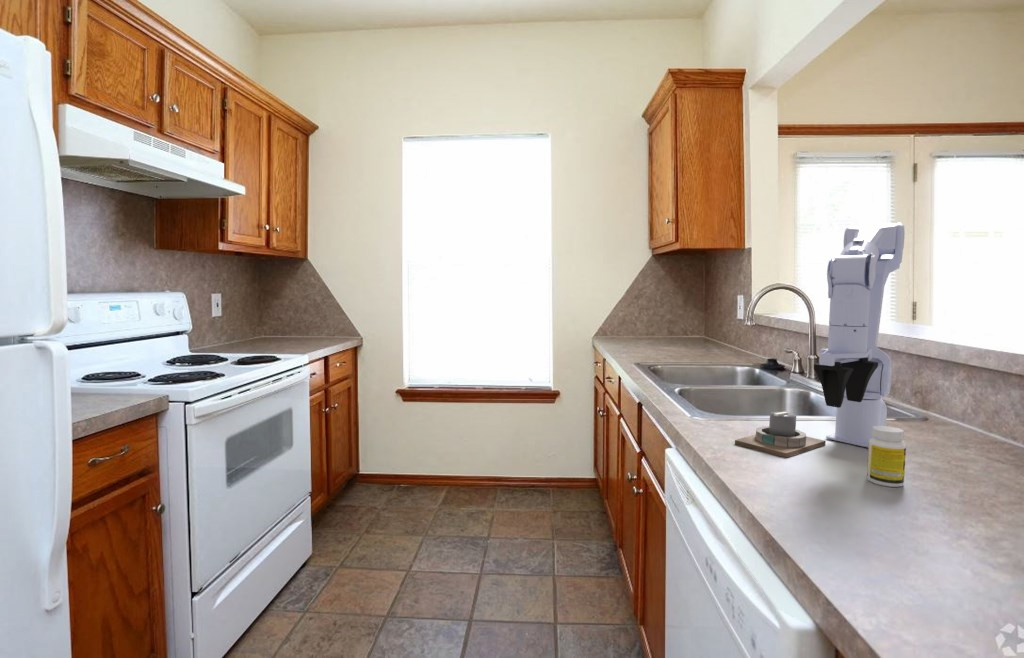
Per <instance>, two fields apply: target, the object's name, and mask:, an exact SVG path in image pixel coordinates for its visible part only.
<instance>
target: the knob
mask: <svg viewBox="0 0 1024 658" xmlns="http://www.w3.org/2000/svg"><path fill="white" fill-rule="evenodd" d="M796 427H797V415H795V414H794V413H790V412H788V411H771V412H770V413H769V434H770V435H774V436H782V437H795V430H797V429H796Z"/></svg>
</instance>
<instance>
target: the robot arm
mask: <svg viewBox="0 0 1024 658" xmlns="http://www.w3.org/2000/svg"><path fill="white" fill-rule="evenodd" d="M904 247H905V225H904V224H903V223H902V222H897V223H886V224H885V223H882V224H869V225H855V226H853V225H848V226H847V227H846V229H845V230H844V235H843V250H842V251H841V253H840V254H839V255H835V256H834V258H833V259H832V258H830V259H829V260H828V264H827V270H826V281H827V288H828V291H827V293H828V294H827V295H828V296H827V297H828V299H829V316H828V317H829V318H828V336H827V337H828V339H827V348H821V349H820V353H819V362H816V363H813V370H814V372H815V374H816V375H817V376H818V379H819V381H820V384H821V388H822V393H823V396H824V401H825V405H826V406H827V407H831V408H836V410H835V411H836V413H835V431H834V433H831V434H829V435H826V436H825V438H826V439H827V440H833V441H836V442H841V443H846V444H849V445H855V446H859V447H864V448H868V446H869V440H870V439H871V438H874V437H873V436H872V428H873V427H874V426H887V414H888V413H887V412H888V409H887V408H888V407H887V405H886V403H885V401H884V400H883V399H882V398H883V397H887V396H888V395H890V393H891V387H892V376H893V375H892V373H893V372H892V371H893V369H892V366H893V364H892V359H891V357H890V356H889V354H888V353H886V352H885V351H884V350H882V349H881V348H879V347H878V341H879V340H878V339H879V333H880V324H881V317H882V309H883V308H882V307H883V301H884V291H885V285H886V282H887V281H888V277H889V276H890V274H891V273H892V272H894V271H895V272H896V271H897V270H899V269H900V266H901V263H902V262H903V254H904V253H903V252H904Z"/></svg>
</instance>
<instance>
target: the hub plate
mask: <svg viewBox="0 0 1024 658" xmlns="http://www.w3.org/2000/svg"><path fill="white" fill-rule="evenodd" d="M826 442H827V441H826V440H825V439H820V438H814V437H811V436H807V435H806V433H805V432H803V431H801V430H799V429H796V430H795V437H782V436H774V435H770V434H769V426H766V425H765V426H759V427H756V429H755V434H752V435H748V436H744V437H742V438H737V439H734V445H737V446H740V447H745V448H748V449H752V450H755V451H759V452H763V453H767V454H771V455H775V456H779V457H782V458H789V457H792V456H796V455H798V454H802V453H806V452H808V451H811V450H815V449H817V448H820V447H824V446H826Z"/></svg>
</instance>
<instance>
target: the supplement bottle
mask: <svg viewBox="0 0 1024 658" xmlns="http://www.w3.org/2000/svg"><path fill="white" fill-rule="evenodd" d="M904 433H905V432H904V430H903V429H902V428H898V427H894V426H887V425H886V426H874V427H873V428H872V436H873V437H874V438H871V439H870V440H869V446H868V447H867V448H868V449H867V451H868V452H867V465H866V479H867V480H868V481H869V482H871V483H872V484H873V483H874V484H875V485H879V486H883V487H888V488H889V487H890V488H891V487H892V488H899V487H902V486H904V484H905V474H906V473H905V471H906V469H905V468H906V456H907V455H906V454H907V445H906V444H905V442H903V441H904V439H905V434H904Z"/></svg>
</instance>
